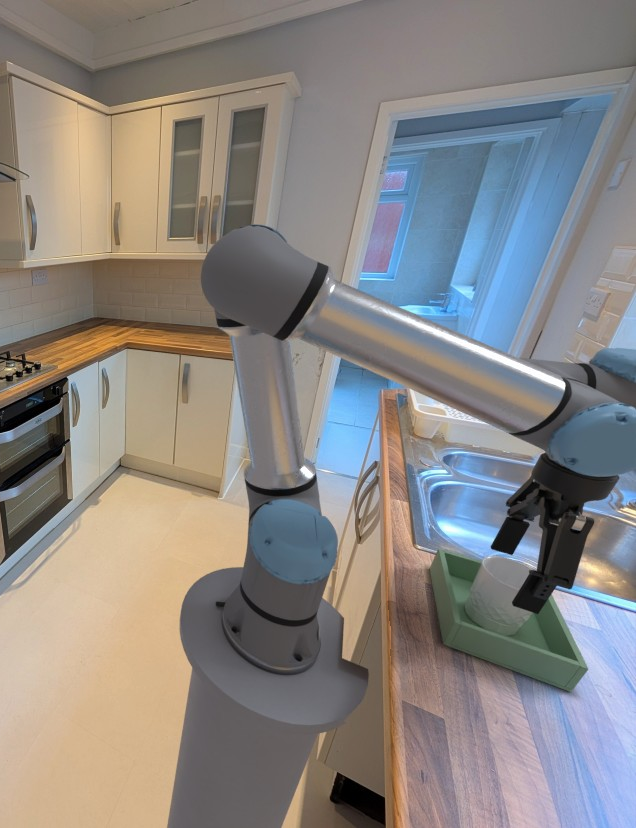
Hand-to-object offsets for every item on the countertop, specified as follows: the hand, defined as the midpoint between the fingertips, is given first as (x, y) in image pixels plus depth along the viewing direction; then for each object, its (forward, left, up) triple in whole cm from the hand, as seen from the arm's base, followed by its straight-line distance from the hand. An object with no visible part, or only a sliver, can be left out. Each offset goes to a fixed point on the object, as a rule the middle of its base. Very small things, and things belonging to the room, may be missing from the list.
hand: (511, 577), depth 67 cm
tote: (0, 0, -10) cm, 10 cm away
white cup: (0, 0, -9) cm, 9 cm away
